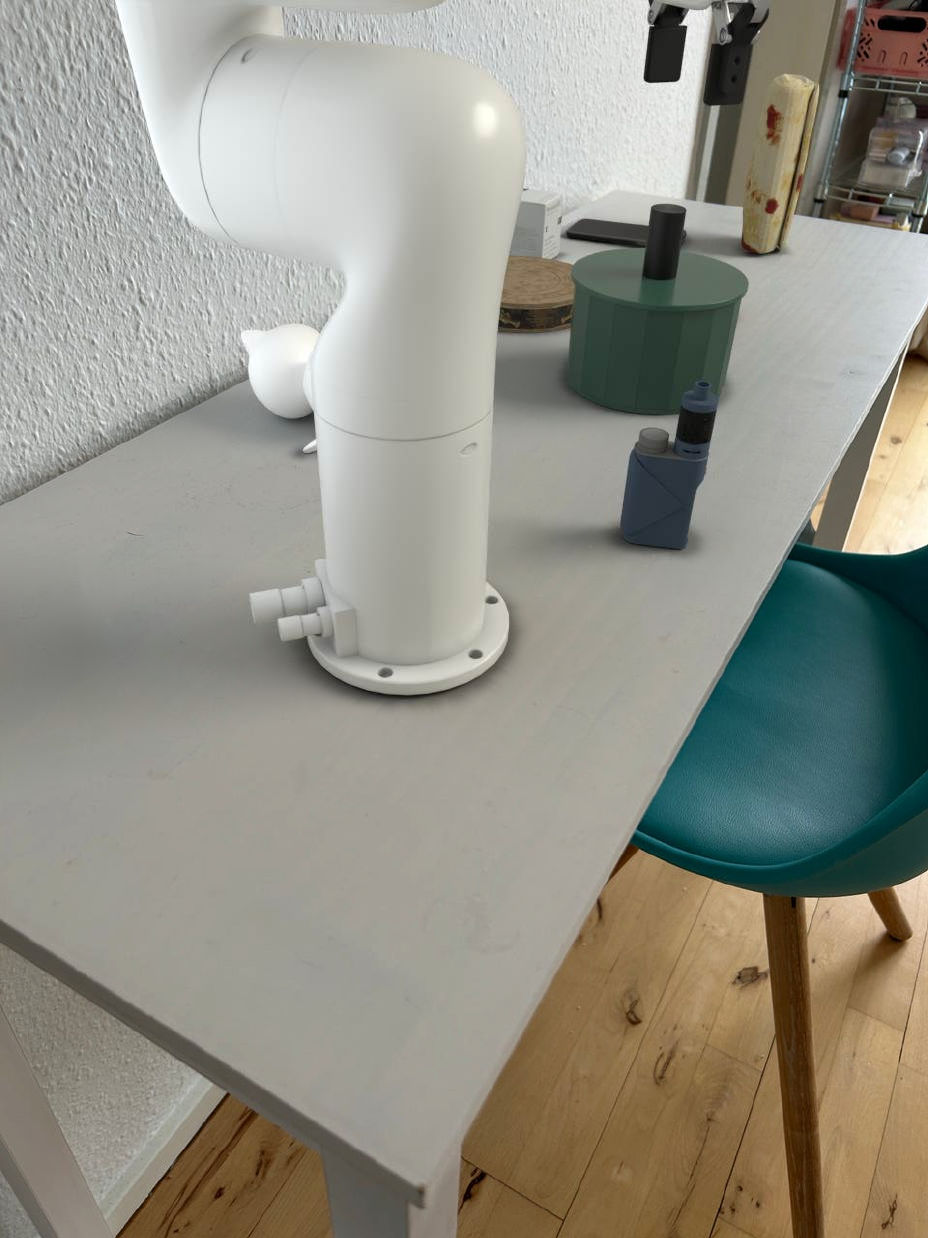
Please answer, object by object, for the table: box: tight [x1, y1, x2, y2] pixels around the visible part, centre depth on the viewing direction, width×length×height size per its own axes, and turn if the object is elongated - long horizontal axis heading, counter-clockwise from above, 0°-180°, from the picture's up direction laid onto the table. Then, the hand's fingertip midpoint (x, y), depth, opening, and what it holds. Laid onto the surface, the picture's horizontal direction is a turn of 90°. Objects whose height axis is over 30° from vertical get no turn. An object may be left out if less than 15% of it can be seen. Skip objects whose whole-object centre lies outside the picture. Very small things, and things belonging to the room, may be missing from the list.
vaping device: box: [619, 381, 720, 550], centre depth 65 cm, size 3×5×12 cm, turn 78°
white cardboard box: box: [509, 187, 564, 259], centre depth 117 cm, size 6×6×7 cm
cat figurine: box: [240, 322, 321, 454], centre depth 80 cm, size 9×11×12 cm
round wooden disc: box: [498, 256, 575, 334], centre depth 105 cm, size 16×16×3 cm
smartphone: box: [566, 218, 687, 247], centre depth 127 cm, size 7×1×15 cm
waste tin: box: [566, 285, 743, 416], centre depth 88 cm, size 15×15×10 cm
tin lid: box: [571, 203, 750, 312], centre depth 83 cm, size 16×16×7 cm
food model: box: [740, 73, 820, 254], centre depth 118 cm, size 10×7×20 cm
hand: (690, 92), depth 76 cm, fingers open, 9 cm apart
